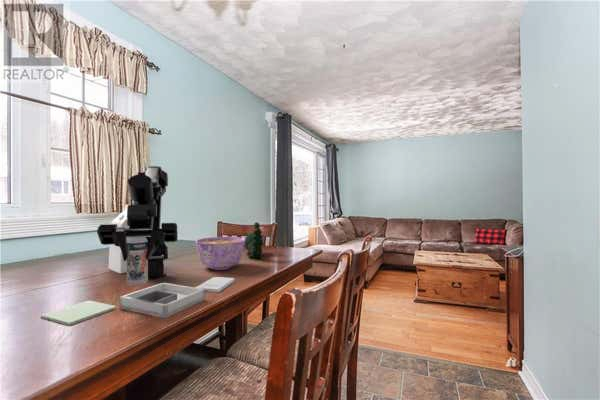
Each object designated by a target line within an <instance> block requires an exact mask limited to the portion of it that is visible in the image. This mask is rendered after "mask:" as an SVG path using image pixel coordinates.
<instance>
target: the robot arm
mask: <svg viewBox="0 0 600 400" xmlns="http://www.w3.org/2000/svg"><path fill="white" fill-rule="evenodd" d="M127 184H128V192H129V195H130V199H131V201H133V204H127V205H128V208H127V218H128V220H127V226H129V228H128V229H126V228H124V227H117V224H111V223H108V224H107V223H106V224H105V223H104V224H103V223H102V224H99V226H98V227H97V229H96V230H97V231H96V233H97V234H96V235H97V237H98V239H99V242H100V244H101V245H104V246H106V245H109V246H110V245H111V244H115V246H119V247H120V249H121V251H122V255H123V259H124V261H126V259H127V237H146V239H147V240H148V251H147V260H148V279H151V280H154V279H157V278H160V277H161V278H162V277H164V276H167V274H168V273H165V272H164V270H165V269H164V265H165V263H164V261H166V260H168V259H169V250H168V249H169V248H168V246H167V243H175V242H178V237H179V236H178V224H177V223H176V222H162V223H161V215H162V213H161V212H162V197H163V196H164V195H165V194H166V192H167V187H169V175H168V173H167V172H166V171H164V170H163V169H162V167H161V166H159V165H148V166H145V170H144V171H143V172H141V171H140V172H139V171H138V172H137V174H135V175H132V176H130V178H128V179H127Z"/></svg>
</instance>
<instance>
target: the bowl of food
mask: <svg viewBox="0 0 600 400" xmlns="http://www.w3.org/2000/svg"><path fill="white" fill-rule="evenodd" d="M244 244H245V237H244V238H243V237H237V236H212V237H204V238H203V237H202V238H199V239H196V240H195V245H196V250H197V253H198V258H199V261H200V262H201V263H202V264H203V266H205V267H207V268H210V269H211V270H214V271H224V270H229V269H231V268H232V267H234V266H235V265H236V264H238V263H239V262H240V261H241V259H242V255H243V252H244V248H245V245H244Z"/></svg>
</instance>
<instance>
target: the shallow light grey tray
mask: <svg viewBox="0 0 600 400" xmlns="http://www.w3.org/2000/svg"><path fill="white" fill-rule="evenodd" d="M205 297H206V291H205V289H200V288H195V287H194V286H193V287H192V286H189V285H188V286H186V285H181V284H176V283H175V284H174V283H167V282H160V283H158V284H155V285H152V286H149V287H145V288H141V289H140V290H136V291H133V292H130V293H127V294H125V295H120V296H119V306H118V307H119V309H120V310H121V309H122V310H126V311H129V312H136V313H138V314H139V313H140V314H144V315H147V316H148V315H149V316H153V317H156V318H157V317H158V318H162V319H167V318H168V317H169V318H170V317H172V315H173V316H174V315H175V314H178V313H179V312H182V311H184V310H186V309H188V308H191V307H192V306H194V305H197V304H199V303H200V302H203V301H205V300H206V298H205Z"/></svg>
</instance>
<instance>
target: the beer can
mask: <svg viewBox="0 0 600 400" xmlns="http://www.w3.org/2000/svg"><path fill="white" fill-rule="evenodd" d="M147 251H148V240H147V239H146V237H131V238H129V239H128V240H127V272H126V284H127V285H128V286H130V287H138V286H142V285H145V284H146V283H147V282H148V281H149V280H148V279H149V278H148V260H147Z"/></svg>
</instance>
